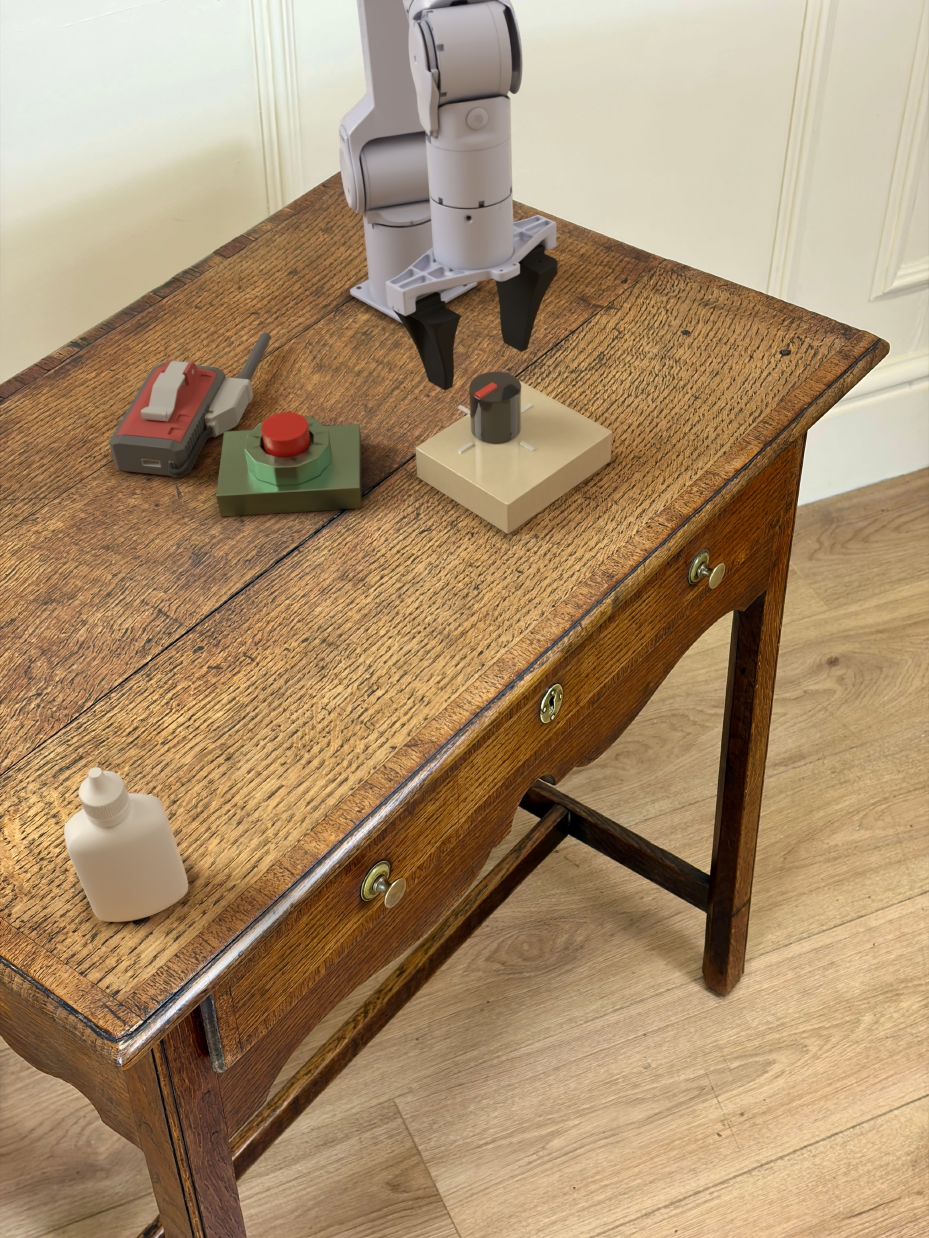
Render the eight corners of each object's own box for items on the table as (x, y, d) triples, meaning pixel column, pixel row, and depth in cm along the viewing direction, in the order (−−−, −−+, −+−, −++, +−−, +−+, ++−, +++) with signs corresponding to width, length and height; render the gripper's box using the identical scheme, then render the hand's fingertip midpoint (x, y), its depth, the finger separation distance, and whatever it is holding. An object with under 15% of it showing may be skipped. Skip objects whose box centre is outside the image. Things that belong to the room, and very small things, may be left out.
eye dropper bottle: (109, 858, 79) (60, 734, 71) (198, 869, 79) (158, 745, 70) (83, 921, 76) (28, 799, 68) (175, 933, 76) (132, 811, 67)
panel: (510, 404, 110) (510, 373, 108) (610, 461, 104) (613, 429, 102) (407, 471, 104) (405, 439, 102) (507, 534, 99) (507, 503, 96)
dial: (495, 406, 105) (494, 361, 102) (531, 427, 103) (532, 382, 100) (460, 429, 103) (458, 384, 100) (496, 450, 101) (495, 405, 98)
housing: (361, 444, 107) (357, 405, 104) (362, 508, 101) (357, 469, 98) (227, 452, 107) (219, 413, 104) (220, 517, 101) (212, 477, 98)
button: (311, 428, 103) (308, 410, 101) (310, 457, 100) (307, 439, 99) (265, 431, 102) (262, 413, 101) (263, 460, 100) (260, 442, 99)
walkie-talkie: (209, 492, 103) (280, 348, 117) (199, 448, 100) (274, 306, 114) (105, 481, 104) (187, 340, 118) (92, 437, 101) (178, 298, 115)
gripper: (427, 244, 83) (439, 423, 92) (587, 175, 90) (584, 348, 99) (360, 211, 88) (378, 386, 97) (518, 148, 94) (521, 316, 103)
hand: (478, 364), depth 98 cm, fingers open, 7 cm apart
